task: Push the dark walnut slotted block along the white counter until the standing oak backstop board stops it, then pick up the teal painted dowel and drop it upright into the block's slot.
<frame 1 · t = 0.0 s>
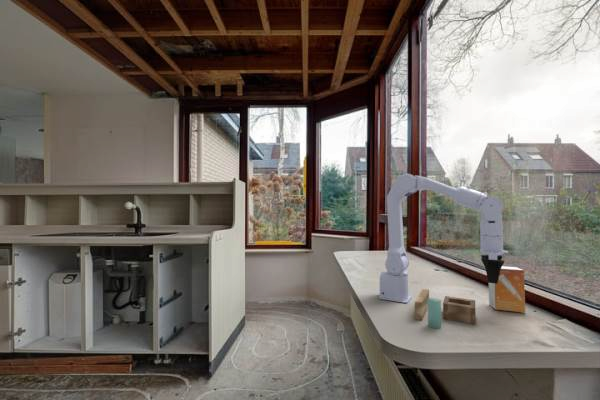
hand: (492, 280, 86), 10 cm above the table, fingers open, 6 cm apart
backstop: (422, 311, 88), on the table
block: (459, 317, 83), on the table
dowel: (434, 326, 77), on the table
small box: (506, 309, 90), on the table, touching gripper
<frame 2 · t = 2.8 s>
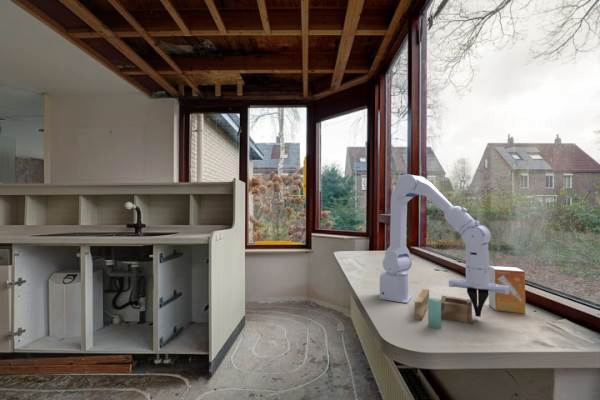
hand: (477, 315, 81), 1 cm above the table, fingers closed
block: (456, 316, 84), on the table, touching gripper
small box: (506, 309, 90), on the table
everything else where it was.
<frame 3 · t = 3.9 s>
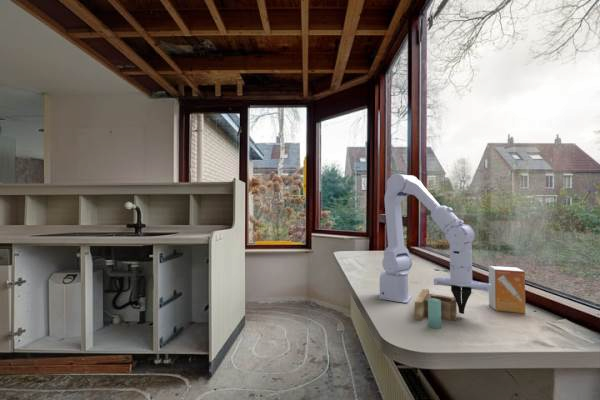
hand: (461, 312, 83), 1 cm above the table, fingers closed
block: (440, 313, 86), on the table, touching gripper
everything else where it was.
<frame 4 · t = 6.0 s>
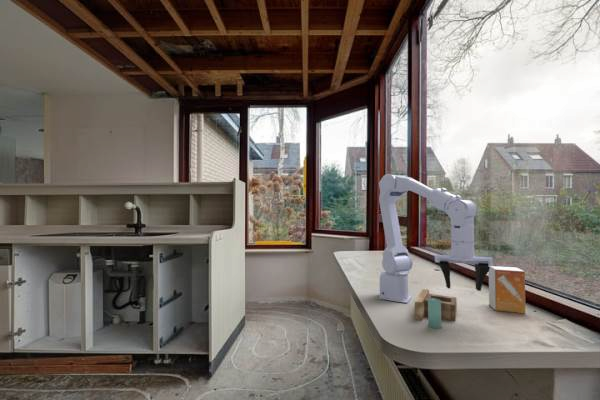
hand: (463, 288, 82), 9 cm above the table, fingers open, 7 cm apart
block: (440, 313, 86), on the table
everything else where it was.
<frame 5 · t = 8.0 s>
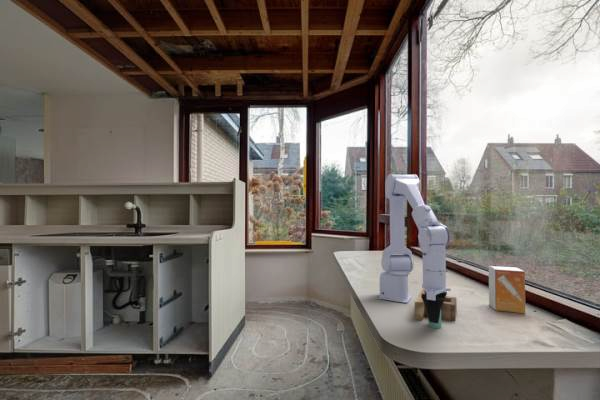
hand: (434, 320, 77), 2 cm above the table, fingers closed on dowel, 3 cm apart
dowel: (434, 326, 77), on the table, touching gripper
everything else where it was.
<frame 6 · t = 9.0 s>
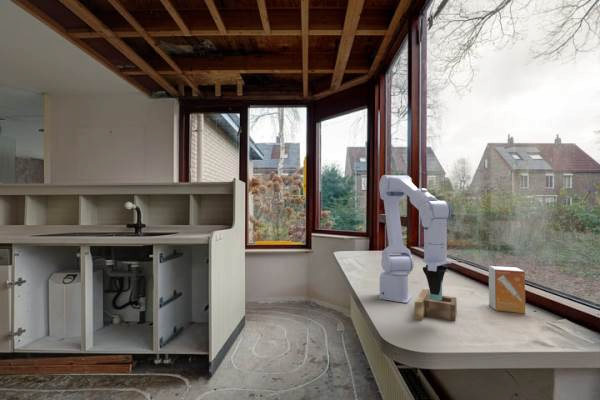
hand: (435, 292, 79), 9 cm above the table, fingers closed on dowel, 3 cm apart
dowel: (435, 298, 79), point 7 cm above the table, touching gripper
everything else where it was.
when the fingers open (5 cm above the table, at t = 10.5 s): dowel drops 3 cm, resting in block.
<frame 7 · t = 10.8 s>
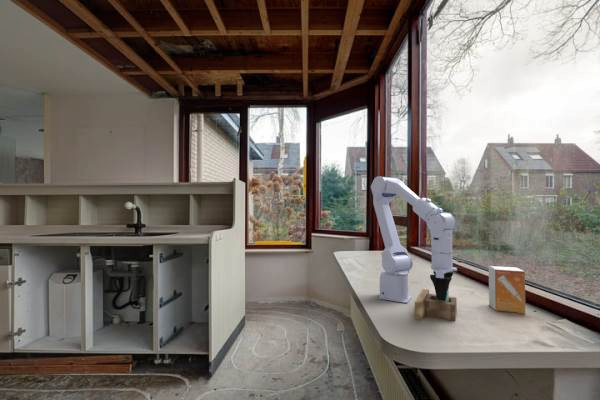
hand: (442, 297, 86), 5 cm above the table, fingers open, 6 cm apart
dowel: (442, 313, 86), resting in block
everything else where it was.
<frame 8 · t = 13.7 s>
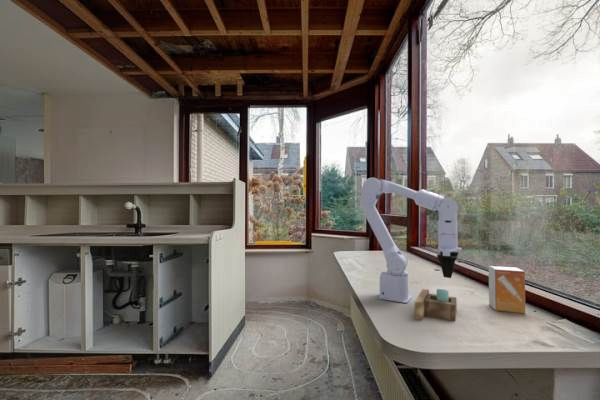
hand: (448, 275, 94), 10 cm above the table, fingers open, 7 cm apart
nothing on the table moved.
at the end: dowel 0.5 cm off-centre on the block, point 0.0 cm above the block's base; dowel tilted 0°; block 0.7 cm from the target spot, on the table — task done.
